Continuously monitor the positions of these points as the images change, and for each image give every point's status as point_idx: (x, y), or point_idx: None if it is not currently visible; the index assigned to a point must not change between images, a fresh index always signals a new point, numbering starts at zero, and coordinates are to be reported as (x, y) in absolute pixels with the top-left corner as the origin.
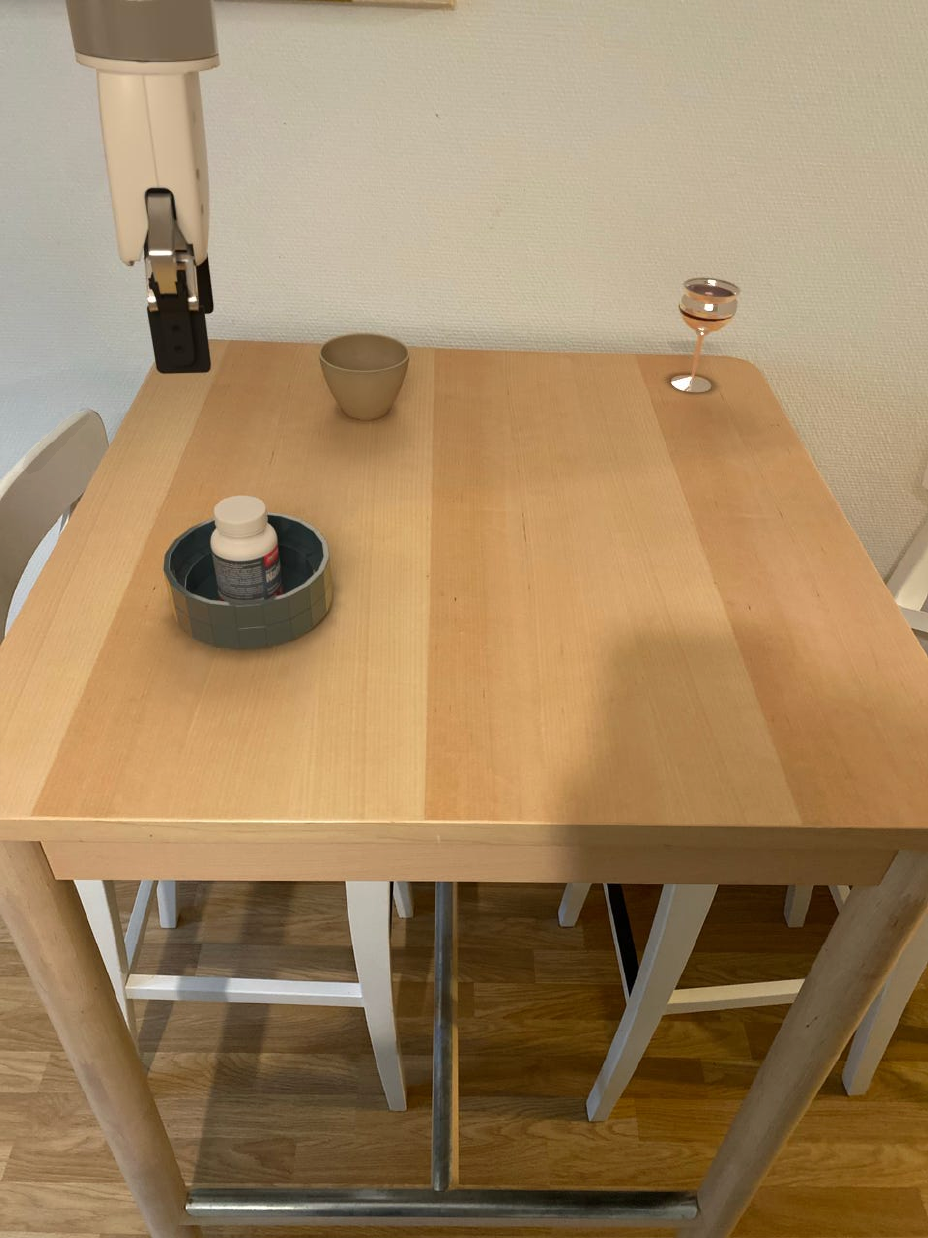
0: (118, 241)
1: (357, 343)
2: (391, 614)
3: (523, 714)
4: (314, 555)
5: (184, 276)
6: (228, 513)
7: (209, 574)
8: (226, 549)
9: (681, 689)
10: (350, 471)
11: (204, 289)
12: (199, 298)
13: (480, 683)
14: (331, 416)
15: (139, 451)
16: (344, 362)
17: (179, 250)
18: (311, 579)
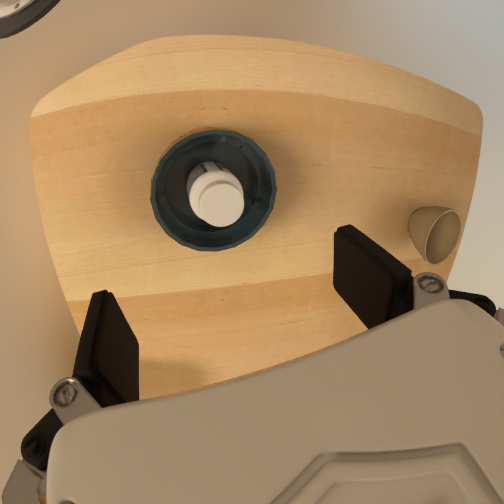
0: (48, 476)
1: (455, 228)
2: (204, 269)
3: (136, 334)
4: (240, 227)
5: (366, 292)
6: (213, 198)
7: (235, 147)
8: (193, 191)
9: (168, 382)
10: (359, 221)
11: (352, 302)
12: (345, 286)
13: (153, 317)
14: (415, 201)
15: (388, 78)
16: (447, 216)
17: (397, 315)
18: (188, 245)
